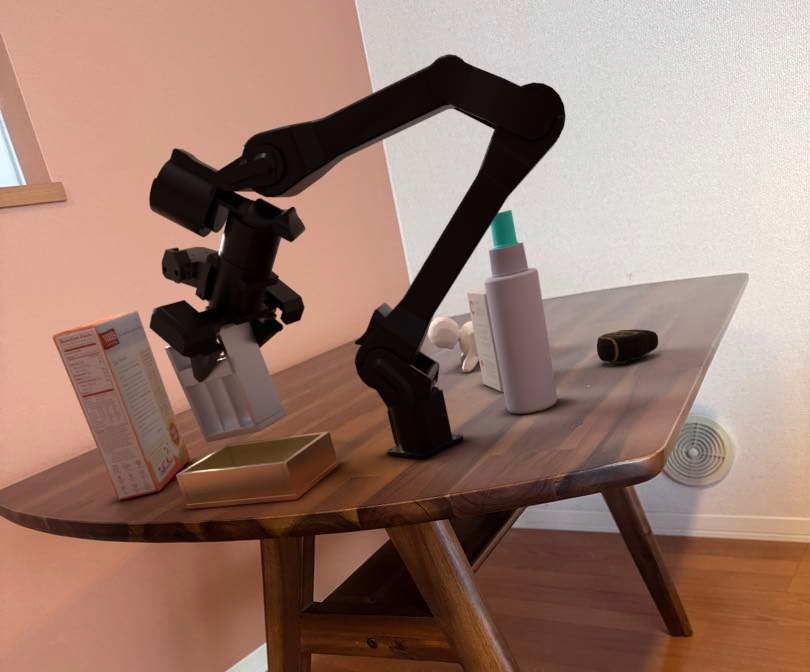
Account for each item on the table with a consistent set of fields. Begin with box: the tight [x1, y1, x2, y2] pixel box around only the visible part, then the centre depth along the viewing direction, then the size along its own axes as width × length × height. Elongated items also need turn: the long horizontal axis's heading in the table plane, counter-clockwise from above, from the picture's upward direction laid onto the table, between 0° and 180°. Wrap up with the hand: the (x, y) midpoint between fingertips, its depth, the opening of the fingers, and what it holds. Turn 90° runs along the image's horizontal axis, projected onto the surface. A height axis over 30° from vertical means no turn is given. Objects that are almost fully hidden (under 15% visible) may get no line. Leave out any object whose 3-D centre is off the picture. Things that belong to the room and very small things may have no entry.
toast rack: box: [164, 322, 287, 443], centre depth 92 cm, size 9×5×12 cm, turn 62°
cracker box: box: [52, 310, 191, 501], centre depth 98 cm, size 14×6×21 cm, turn 178°
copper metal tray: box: [175, 430, 339, 510], centre depth 86 cm, size 14×10×4 cm
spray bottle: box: [483, 209, 558, 415], centre depth 88 cm, size 6×6×22 cm
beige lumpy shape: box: [427, 316, 479, 374], centre depth 123 cm, size 9×8×15 cm
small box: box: [466, 286, 504, 393], centre depth 105 cm, size 8×6×13 cm
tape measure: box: [596, 329, 659, 365], centre depth 103 cm, size 7×7×4 cm
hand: (216, 373), depth 92 cm, fingers closed on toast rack, 6 cm apart
